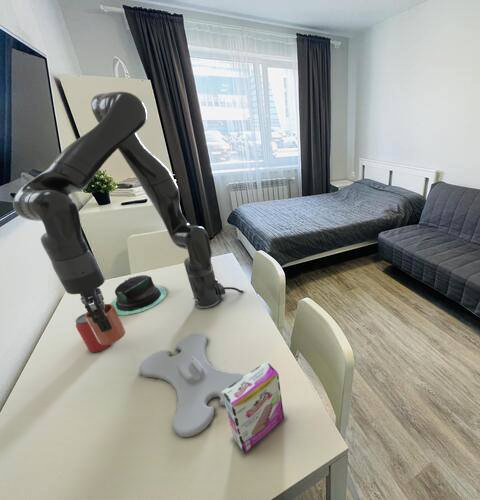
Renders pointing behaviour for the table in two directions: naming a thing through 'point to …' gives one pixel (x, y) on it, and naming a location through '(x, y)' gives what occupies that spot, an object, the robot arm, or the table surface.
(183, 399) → the holder
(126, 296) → the black and green hat
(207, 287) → the robot arm
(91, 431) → the table surface
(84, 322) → the beer can
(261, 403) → the candy bar box
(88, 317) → the cup
